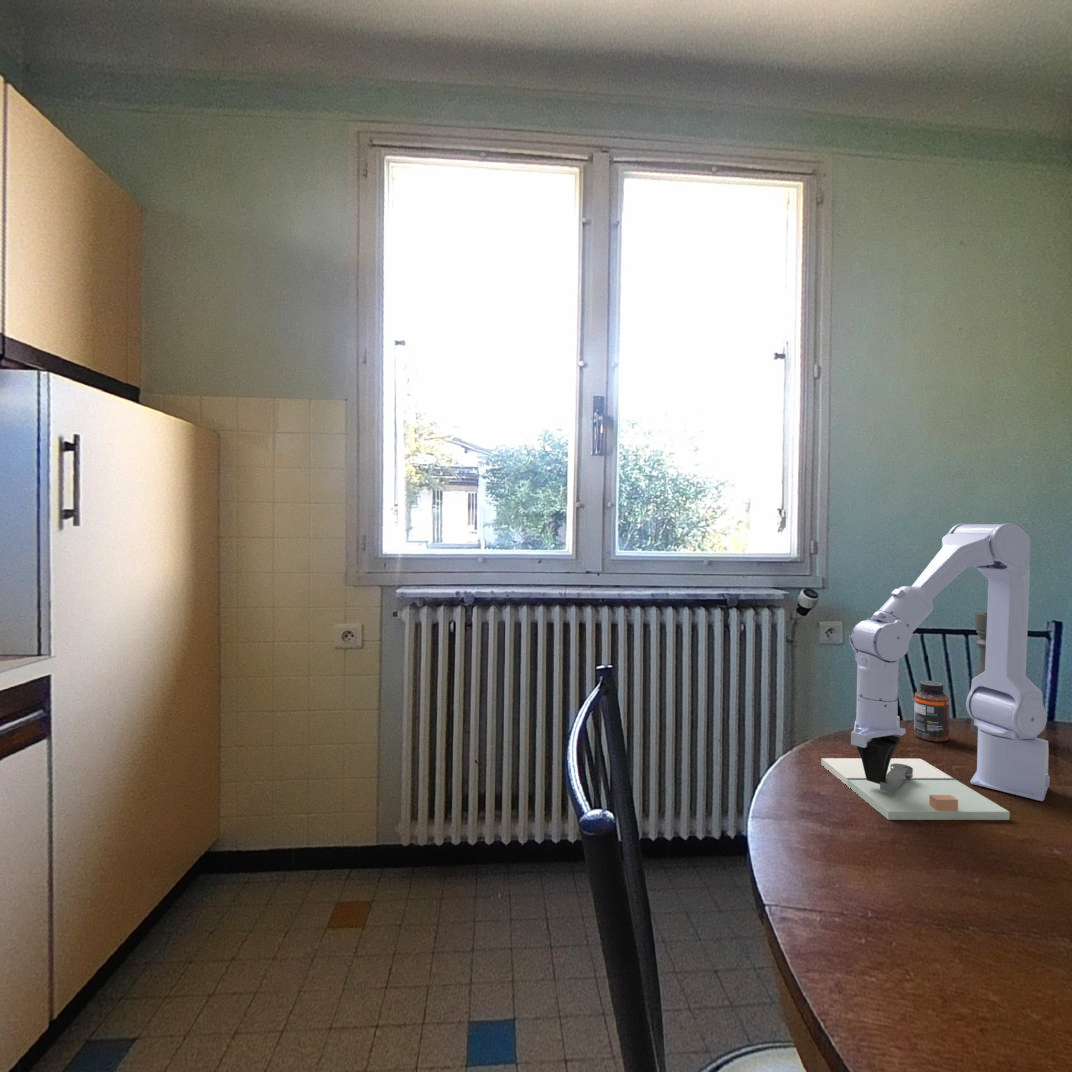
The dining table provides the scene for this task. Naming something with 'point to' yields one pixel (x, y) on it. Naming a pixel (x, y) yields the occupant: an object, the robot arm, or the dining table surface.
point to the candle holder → (981, 630)
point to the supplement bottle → (931, 712)
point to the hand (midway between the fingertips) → (875, 781)
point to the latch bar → (896, 777)
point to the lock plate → (917, 793)
